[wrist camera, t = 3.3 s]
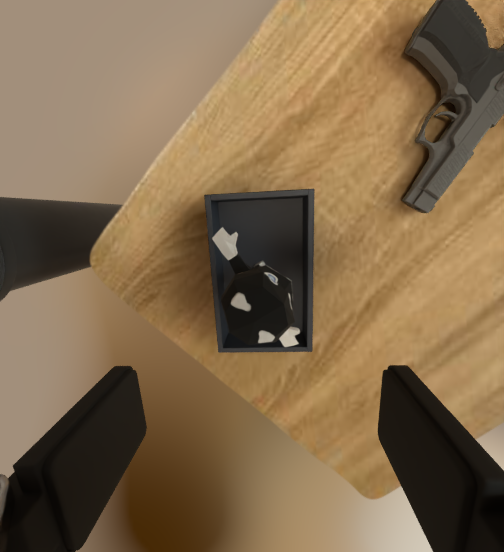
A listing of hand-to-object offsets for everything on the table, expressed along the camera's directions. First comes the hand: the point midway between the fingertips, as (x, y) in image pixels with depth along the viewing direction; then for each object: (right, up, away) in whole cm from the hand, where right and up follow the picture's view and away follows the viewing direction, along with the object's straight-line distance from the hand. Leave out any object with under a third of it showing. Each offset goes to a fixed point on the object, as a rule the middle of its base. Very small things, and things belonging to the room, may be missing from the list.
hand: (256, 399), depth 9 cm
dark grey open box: (+1, +5, +22) cm, 23 cm away
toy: (+1, +5, +22) cm, 23 cm away
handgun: (+18, +22, +17) cm, 33 cm away
